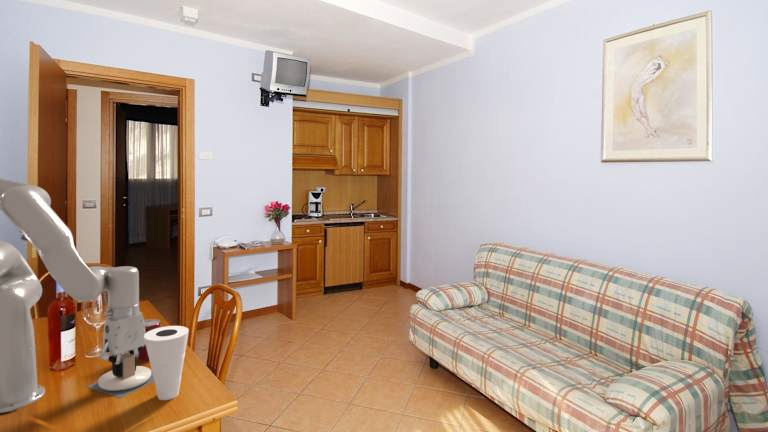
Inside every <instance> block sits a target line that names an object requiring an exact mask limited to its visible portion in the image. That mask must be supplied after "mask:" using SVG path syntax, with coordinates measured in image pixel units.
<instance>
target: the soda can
mask: <svg viewBox="0 0 768 432" xmlns="http://www.w3.org/2000/svg"><path fill="white" fill-rule="evenodd" d="M144 323H145V331H146V333H147V332H148V331H151V330H153V329H156V328H160V327H162V322H161V321H160V319H157V318H156V319H155V318H150V319H144ZM136 361H139V362H150V361H149V356H148V352H147V348H146V344H145V345H144V346H143V347H142V349H141V350H140V352H139V355H138V357H136Z"/></svg>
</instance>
